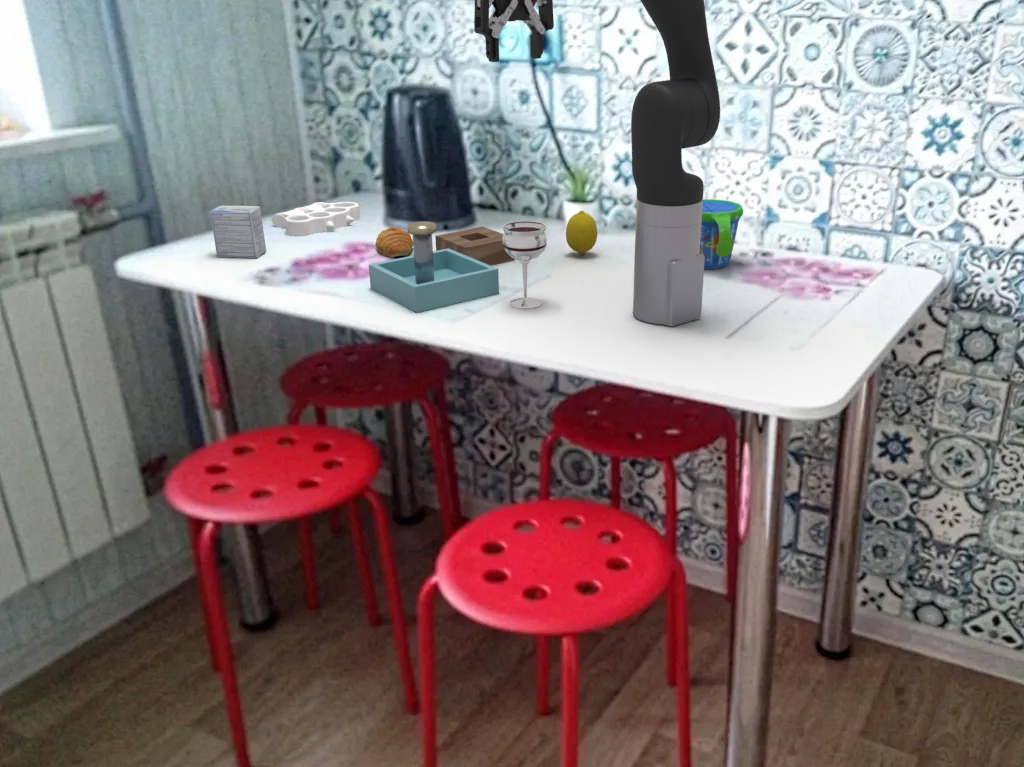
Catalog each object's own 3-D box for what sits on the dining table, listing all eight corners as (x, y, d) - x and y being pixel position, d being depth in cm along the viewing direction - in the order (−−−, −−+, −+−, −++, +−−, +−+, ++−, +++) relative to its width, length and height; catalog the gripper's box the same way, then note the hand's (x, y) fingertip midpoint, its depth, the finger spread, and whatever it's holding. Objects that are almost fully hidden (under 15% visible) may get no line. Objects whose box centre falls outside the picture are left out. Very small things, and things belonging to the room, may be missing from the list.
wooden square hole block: (514, 259, 170) (514, 237, 168) (466, 270, 165) (465, 247, 163) (483, 247, 178) (482, 226, 176) (436, 257, 172) (435, 235, 171)
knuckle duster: (324, 212, 207) (376, 221, 199) (260, 231, 193) (312, 241, 185) (323, 197, 205) (374, 205, 197) (258, 215, 192) (310, 224, 184)
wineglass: (550, 297, 151) (550, 221, 146) (543, 311, 145) (542, 233, 140) (508, 295, 152) (506, 220, 147) (499, 309, 146) (497, 231, 141)
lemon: (585, 261, 168) (586, 216, 165) (559, 256, 171) (559, 212, 168) (602, 254, 172) (603, 209, 169) (577, 249, 175) (577, 205, 172)
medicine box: (267, 252, 178) (261, 205, 174) (257, 259, 174) (251, 211, 170) (227, 251, 179) (220, 204, 176) (216, 257, 175) (209, 210, 172)
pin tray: (499, 293, 153) (498, 268, 152) (416, 312, 146) (415, 287, 144) (449, 271, 165) (448, 248, 163) (370, 288, 157) (368, 264, 155)
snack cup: (667, 252, 172) (669, 196, 168) (725, 250, 173) (729, 194, 169) (686, 279, 158) (689, 218, 154) (749, 277, 158) (754, 215, 154)
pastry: (419, 257, 173) (417, 237, 172) (382, 262, 172) (380, 241, 170) (409, 244, 182) (407, 224, 180) (373, 248, 180) (371, 228, 178)
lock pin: (444, 287, 153) (441, 225, 149) (420, 292, 151) (416, 230, 147) (430, 280, 157) (426, 219, 153) (406, 285, 154) (402, 224, 150)
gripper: (489, -47, 147) (492, 64, 154) (563, -48, 155) (563, 58, 161) (462, -46, 153) (466, 61, 160) (535, -48, 160) (536, 55, 167)
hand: (515, 60), depth 160 cm, fingers open, 8 cm apart
